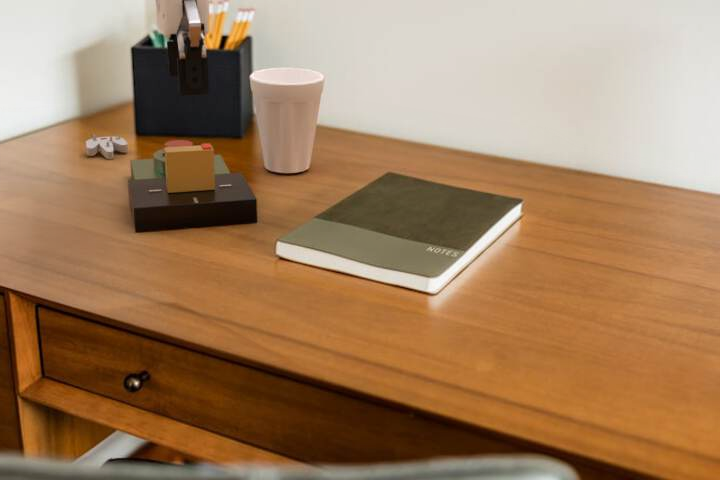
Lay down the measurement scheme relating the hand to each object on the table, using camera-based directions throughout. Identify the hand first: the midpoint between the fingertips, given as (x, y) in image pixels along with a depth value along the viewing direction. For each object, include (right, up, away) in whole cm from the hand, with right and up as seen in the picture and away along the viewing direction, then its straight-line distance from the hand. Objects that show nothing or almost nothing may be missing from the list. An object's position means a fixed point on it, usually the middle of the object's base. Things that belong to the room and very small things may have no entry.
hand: (188, 84), depth 103 cm
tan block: (-1, -12, +4) cm, 12 cm away
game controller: (-18, -5, +29) cm, 34 cm away
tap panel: (-1, -15, +6) cm, 16 cm away
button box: (-4, -10, +15) cm, 19 cm away
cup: (+10, -8, +22) cm, 25 cm away
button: (-4, -7, +14) cm, 16 cm away
